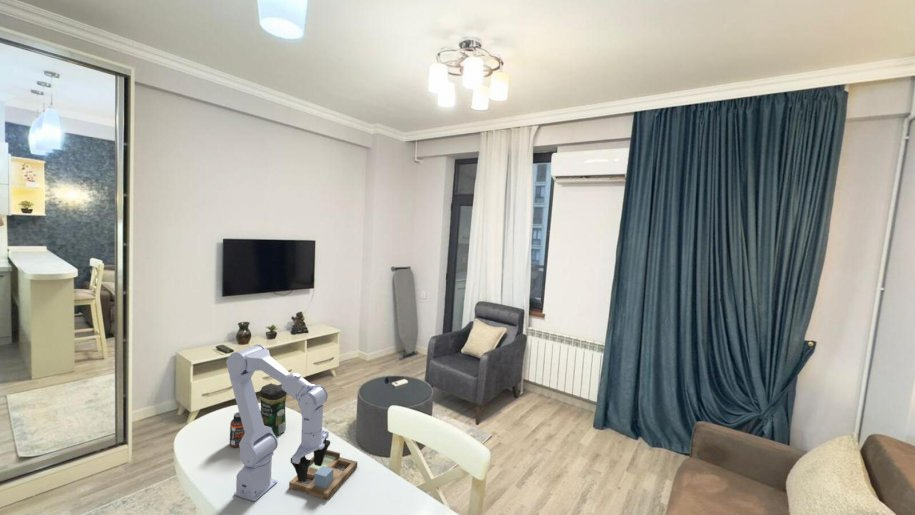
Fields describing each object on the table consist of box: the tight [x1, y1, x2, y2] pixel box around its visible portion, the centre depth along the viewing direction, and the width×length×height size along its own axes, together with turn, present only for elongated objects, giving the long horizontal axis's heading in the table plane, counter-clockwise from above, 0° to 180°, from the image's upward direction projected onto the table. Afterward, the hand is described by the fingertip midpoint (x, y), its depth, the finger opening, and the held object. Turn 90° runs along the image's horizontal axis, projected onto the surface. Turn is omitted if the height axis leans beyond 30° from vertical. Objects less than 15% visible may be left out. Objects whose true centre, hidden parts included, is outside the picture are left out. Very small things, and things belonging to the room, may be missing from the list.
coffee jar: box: [259, 382, 288, 437], centre depth 150 cm, size 10×8×19 cm
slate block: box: [314, 466, 333, 489], centre depth 120 cm, size 4×4×4 cm
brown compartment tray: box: [288, 449, 359, 501], centre depth 126 cm, size 17×14×4 cm
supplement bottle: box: [229, 411, 245, 448], centre depth 141 cm, size 6×6×11 cm
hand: (310, 472), depth 114 cm, fingers open, 7 cm apart
